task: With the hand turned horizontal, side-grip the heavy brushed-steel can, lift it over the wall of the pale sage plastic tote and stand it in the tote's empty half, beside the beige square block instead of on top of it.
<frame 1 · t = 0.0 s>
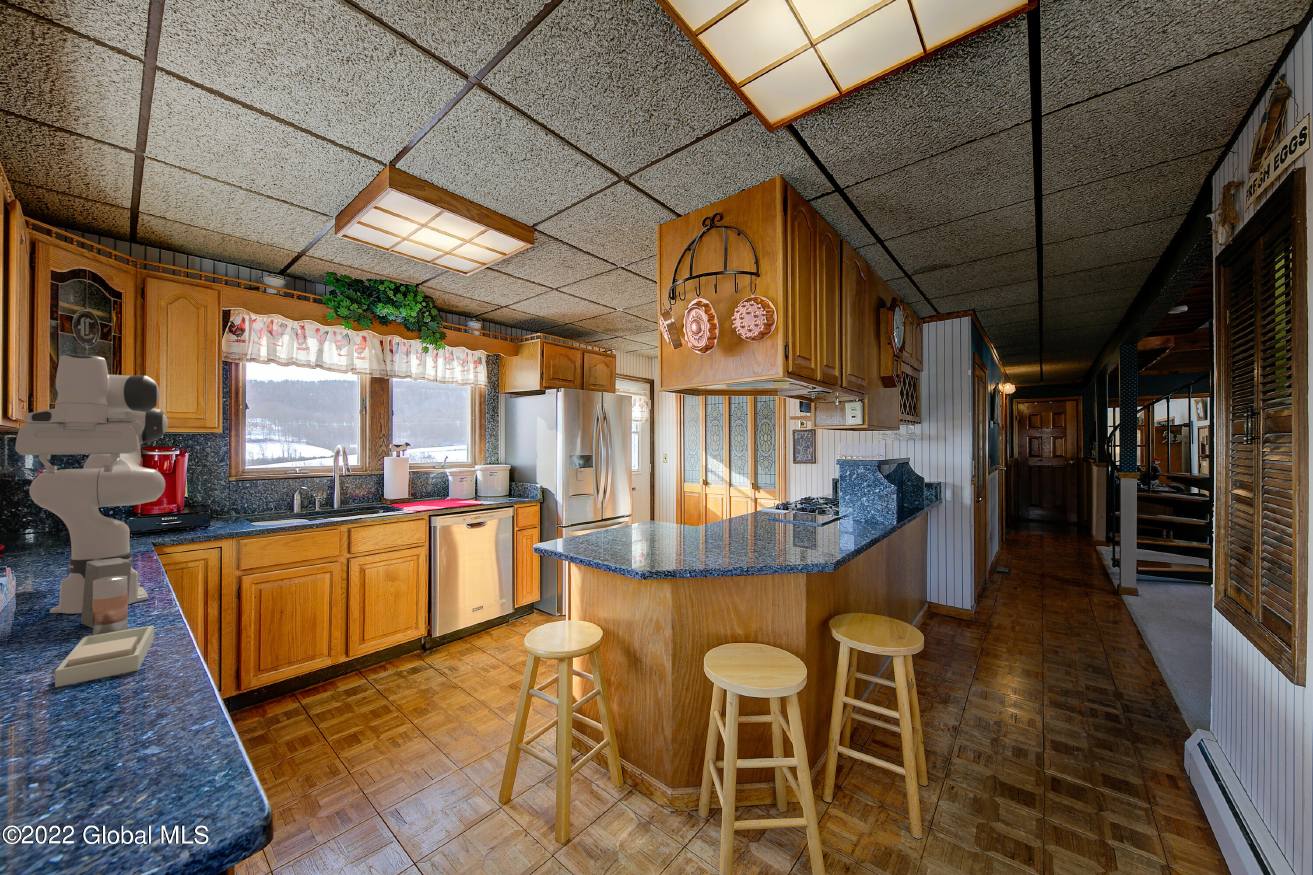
hand: (80, 472, 124), 39 cm above the counter, tool pointing down, fingers open, 8 cm apart
tote: (109, 664, 104), on the counter
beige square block: (104, 667, 101), point 1 cm above the counter, touching tote
steel can: (110, 637, 119), on the counter
skincare box: (106, 623, 129), on the counter
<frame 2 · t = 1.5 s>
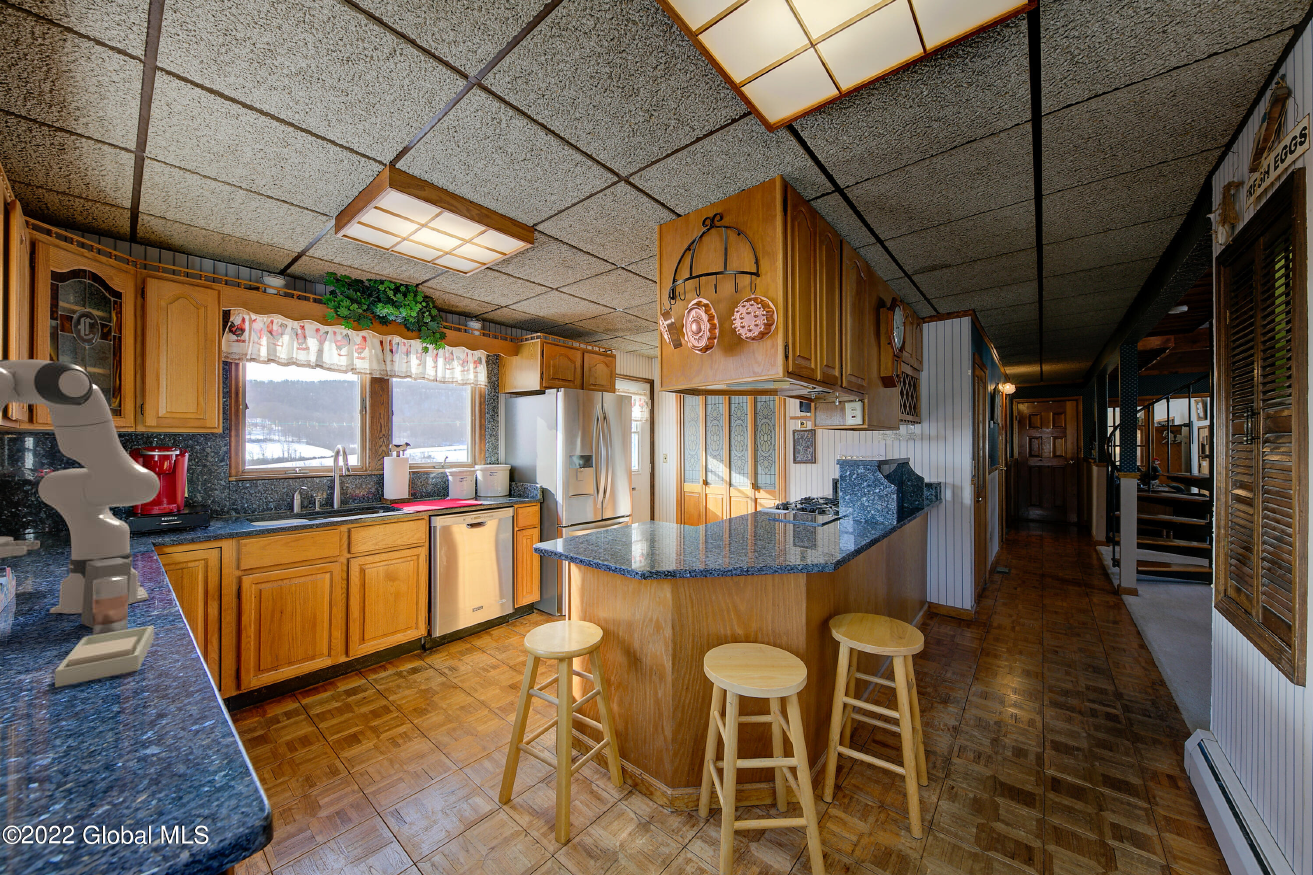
hand: (32, 547, 111), 23 cm above the counter, tool horizontal, fingers open, 8 cm apart
nothing on the counter moved.
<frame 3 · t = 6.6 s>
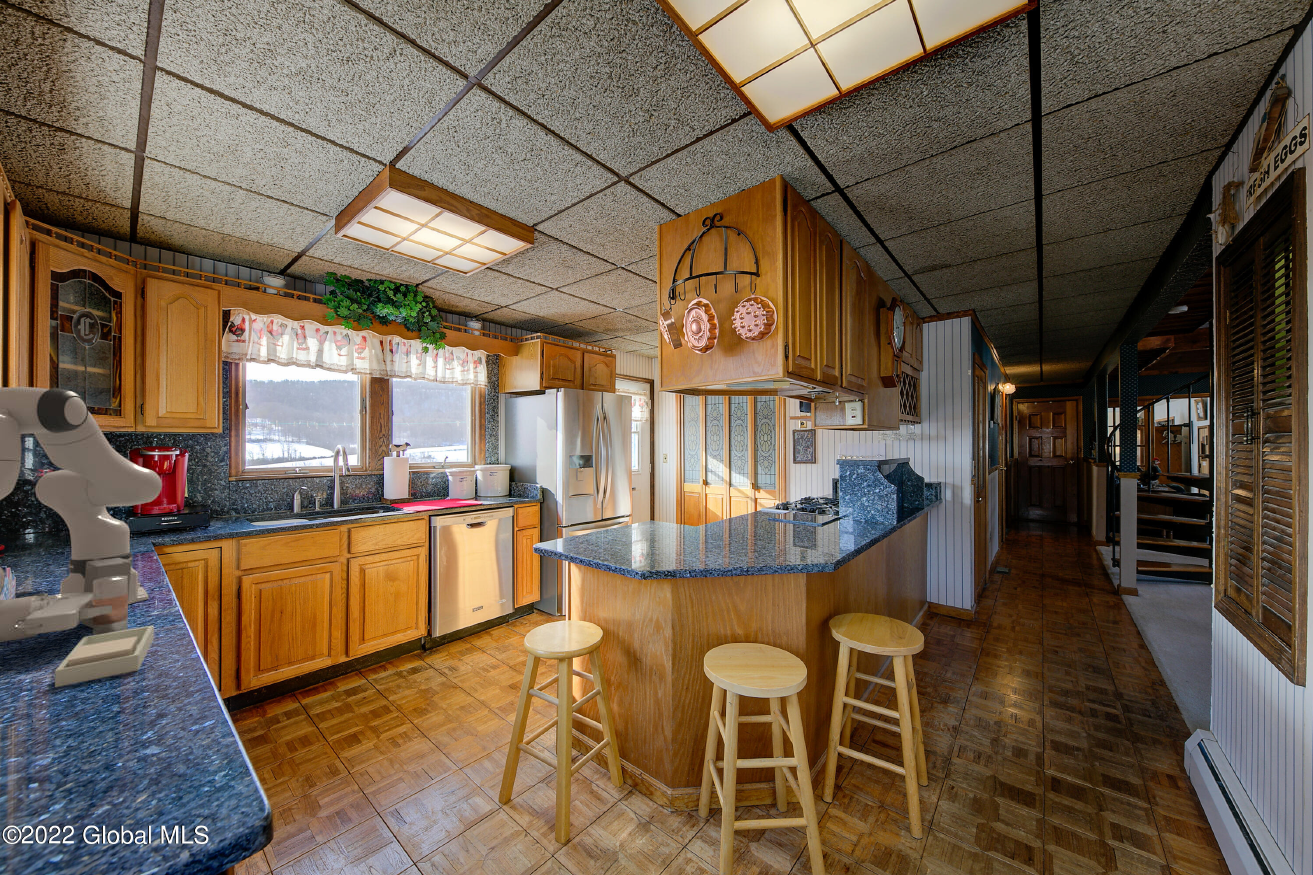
hand: (115, 604, 119), 8 cm above the counter, tool horizontal, fingers closed on steel can, 6 cm apart
steel can: (110, 637, 119), on the counter, touching gripper
everything else where it was.
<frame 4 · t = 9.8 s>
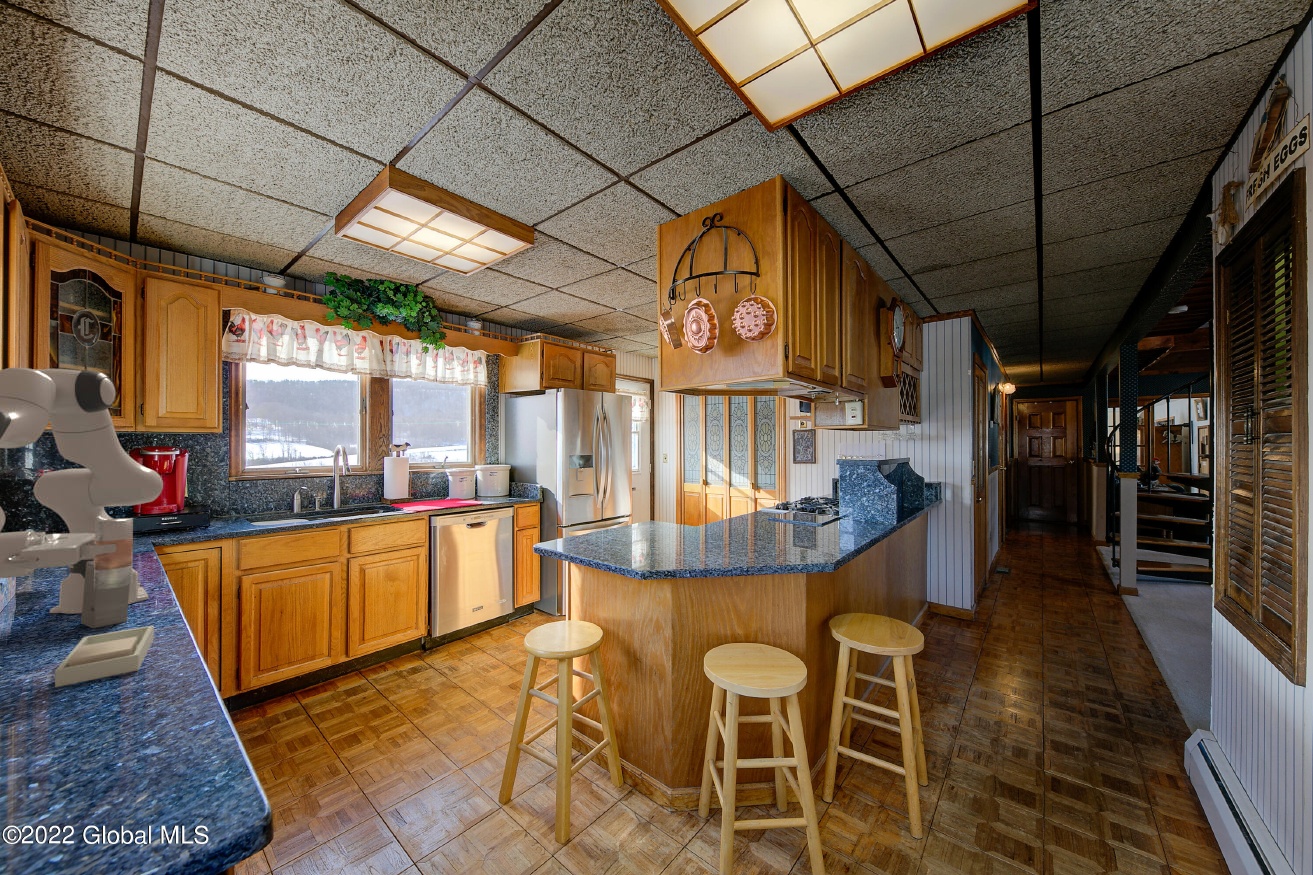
hand: (120, 544, 108), 24 cm above the counter, tool horizontal, fingers closed on steel can, 6 cm apart
steel can: (113, 585, 108), point 15 cm above the counter, touching gripper
everything else where it was.
when the fingers open (10 cm above the counter, at t = 13.4 s): steel can stays where it is, resting on tote.
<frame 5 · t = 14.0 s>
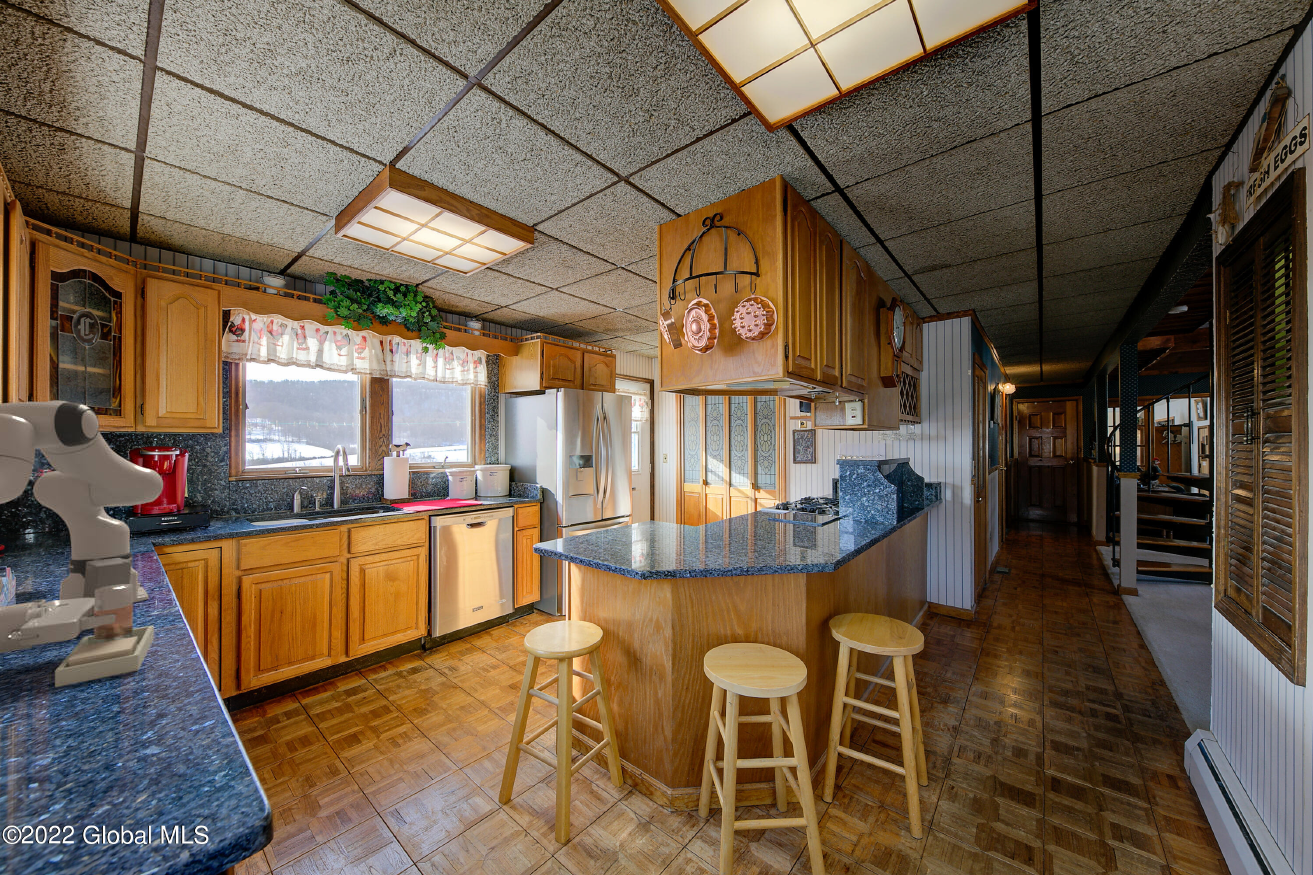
hand: (120, 611, 108), 10 cm above the counter, tool horizontal, fingers open, 8 cm apart
steel can: (113, 652, 108), point 1 cm above the counter, touching tote
everything else where it was.
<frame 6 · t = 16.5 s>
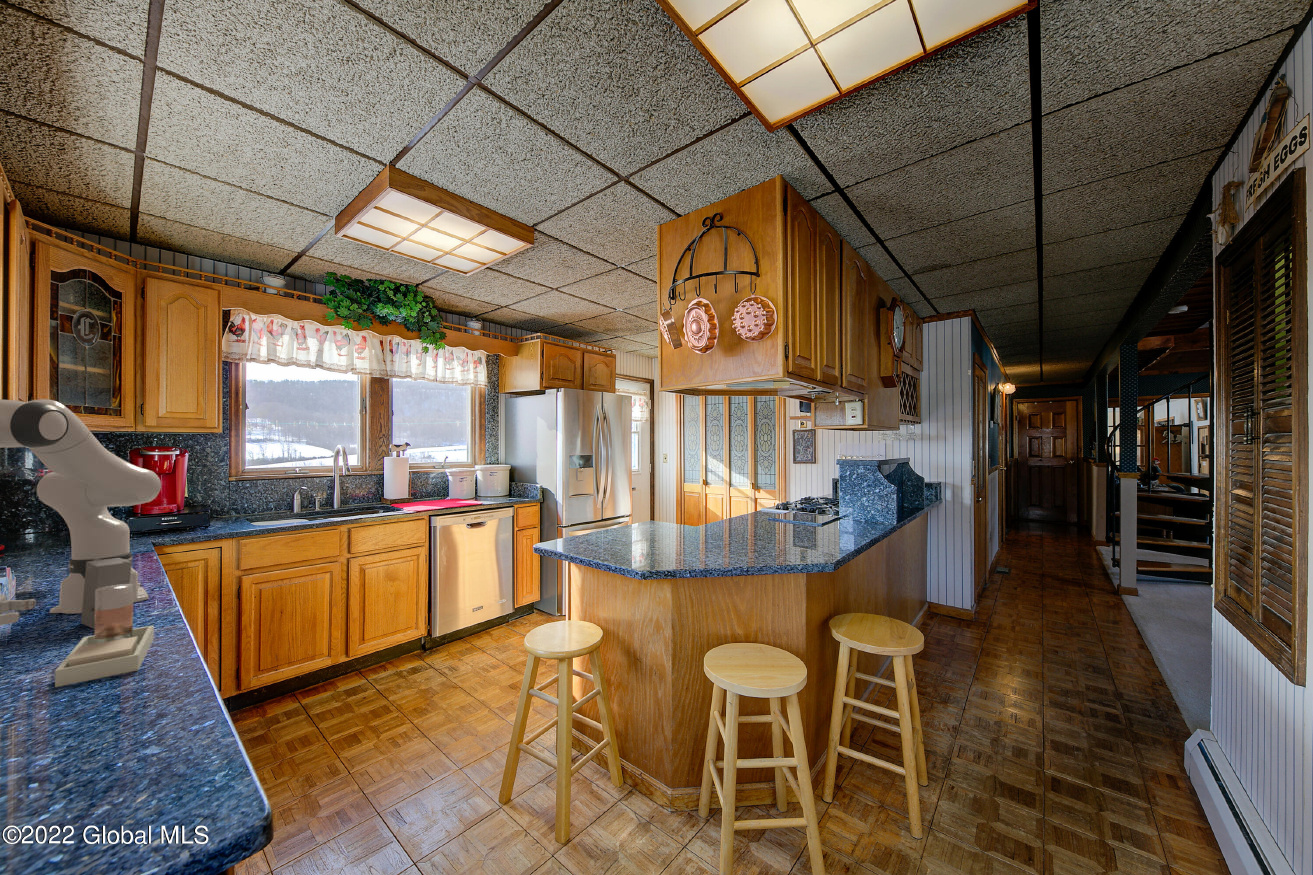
hand: (27, 609, 102), 12 cm above the counter, tool horizontal, fingers open, 8 cm apart
nothing on the counter moved.
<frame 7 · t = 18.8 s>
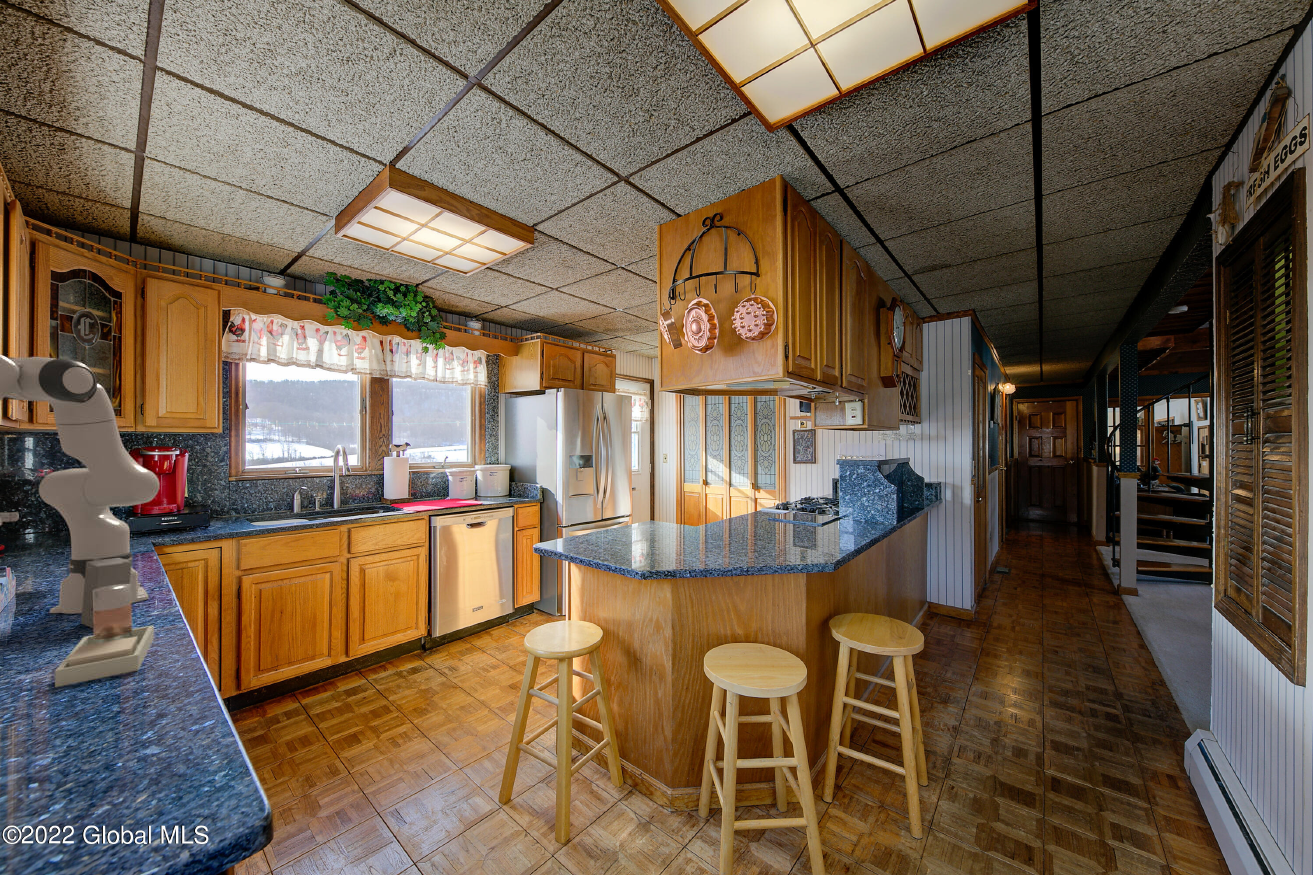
hand: (9, 519, 107), 30 cm above the counter, tool horizontal, fingers open, 8 cm apart
nothing on the counter moved.
at the end: steel can 0.1 cm from the target spot on the tote, point 1.1 cm above the tote's base; steel can tilted 1°; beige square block moved 0.0 cm from its start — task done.
